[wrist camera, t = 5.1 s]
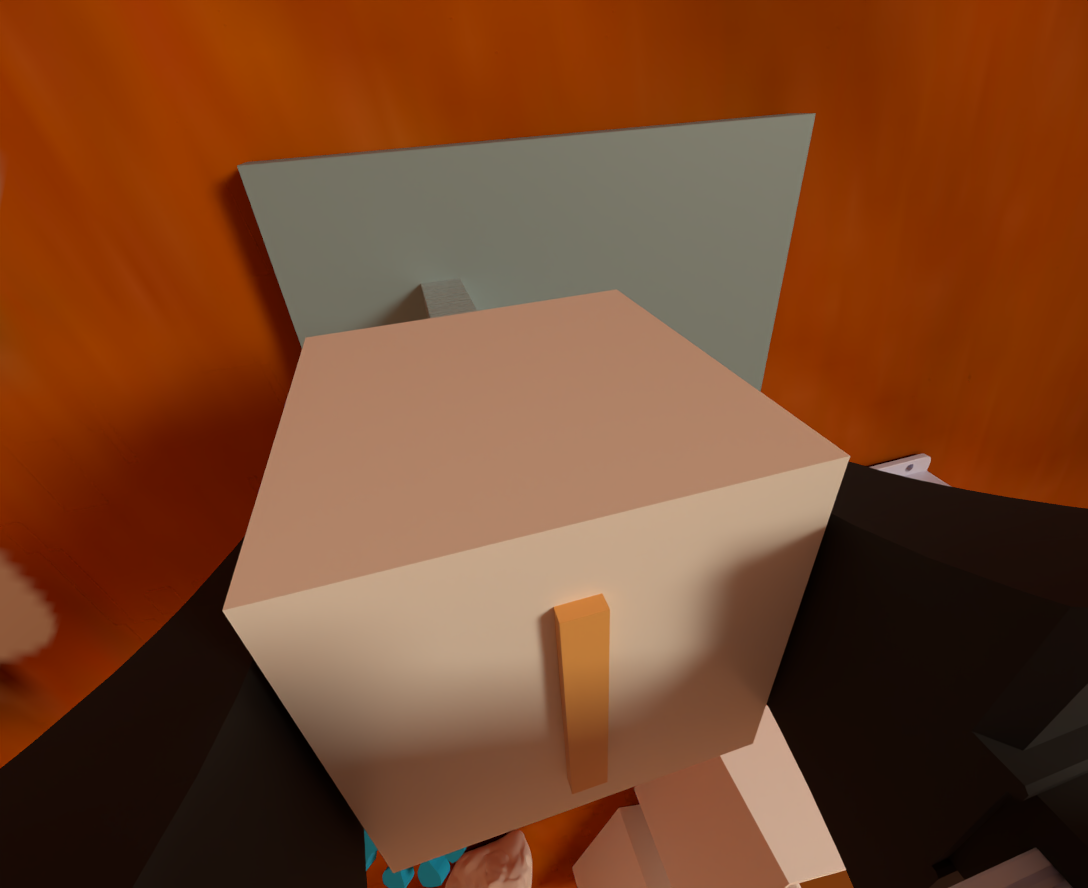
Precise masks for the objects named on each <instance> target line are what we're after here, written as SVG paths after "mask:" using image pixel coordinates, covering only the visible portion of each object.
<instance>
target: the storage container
mask: <svg viewBox="0 0 1088 888" xmlns="http://www.w3.org/2000/svg"><path fill="white" fill-rule="evenodd" d="M634 791H635V793H636V796H637V799H638V801H639V804H640V805H633V806H627V807H620V808H618V809H617V811H616V812H615V813H614V815H613V816H612V817H611V818H610V820H609V821H608V822H607V824H606V825H605V826H604V827H603V829H602V830H601V831H600V832H599V834H598V835H597V836H596V838H595V839H594V840H593V841H592V843H591V844H590V845H589V847H588V848H587V849H586V850H585V852H584V853H583V854H582V855H581V857H580V858H579V859H578V861H577V862H576V863H575V864H574V866H573V867H572V869H573V873H574V877H575V881H576V885H577V888H801V886H800V885H799V883H801V882H804V881H808V880H812V879H815V878H819V877H823V876H826V875H830V874H833V873H837V872H841V871H844V870H846V868H845V866H844V864H843V862H842V859H841V857H840V855H839V852H838V850H837V848H836V846H835V844H834V842H833V839H832V837H831V835H830V833H829V831H828V828H827V826H826V824H825V822H824V820H823V818H822V815H821V813H820V811H819V809H818V807H817V804H816V802H815V800H814V798H813V796H812V794H811V791H810V789H809V787H808V785H807V783H806V781H805V779H804V777H803V775H802V773H801V771H800V769H799V767H798V765H797V763H796V761H795V759H794V757H793V755H792V753H791V751H790V749H789V747H788V745H787V742H786V740H785V738H784V736H783V734H782V732H781V730H780V728H779V726H778V724H777V722H776V721H775V719H774V717H773V715H772V713H771V711H770V709H769V707H768V706H766V707H765V710H764V713H763V716H762V719H761V721H760V724H759V727H758V730H757V733H756V736H755V739H754V742H753V744H751V745H748V746H745V747H742V748H740V749H737V750H734V751H731V752H729V753H726V754H723V755H720V756H718V757H715V758H712V759H709V760H706V761H704V762H701V763H698V764H695V765H693V766H690V767H687V768H684V769H681V770H679V771H676V772H673V773H670V774H668V775H665V776H662V777H659V778H656V779H654V780H651V781H648V782H645V783H643V784H640V785H637V786H636V787H635V788H634Z"/></svg>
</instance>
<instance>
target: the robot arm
mask: <svg viewBox="0 0 1088 888" xmlns="http://www.w3.org/2000/svg"><path fill="white" fill-rule="evenodd" d="M930 462H931V458H930V457H929V456H927V455H925V454H919V455H915V456H911V457H907V458H903V459H899V460H895V461H891V462H887V463H883V464H879V465H875V466H871V467H866V466H863V465H859V464H856V463H852V462H848V464H847V467H846V470H845V473H844V476H843V479H842V482H841V485H840V488H839V490H838V493H837V496H836V499H835V502H834V505H833V508H832V511H831V514H830V517H829V520H828V523H827V526H826V529H825V532H824V535H823V538H822V541H821V544H820V547H819V550H818V553H817V556H816V559H815V562H814V565H813V567H812V570H811V573H810V576H809V579H808V582H807V585H806V588H805V591H804V594H803V597H802V600H801V603H800V606H799V609H798V612H797V615H796V618H795V621H794V624H793V627H792V630H791V633H790V636H789V639H788V642H787V644H786V647H785V650H784V653H783V656H782V659H781V662H780V665H779V668H778V671H777V674H776V677H775V680H774V683H773V686H772V689H771V692H770V695H769V698H768V701H767V705H768V707H769V709H770V711H771V713H772V715H773V717H774V719H775V721H776V722H777V724H778V726H779V728H780V730H781V732H782V734H783V736H784V738H785V740H786V742H787V745H788V747H789V749H790V751H791V753H792V755H793V757H794V759H795V761H796V763H797V765H798V767H799V769H800V771H801V773H802V775H803V777H804V779H805V781H806V783H807V785H808V787H809V789H810V791H811V794H812V796H813V798H814V800H815V802H816V804H817V807H818V809H819V811H820V813H821V815H822V818H823V820H824V822H825V824H826V826H827V828H828V831H829V833H830V835H831V837H832V839H833V842H834V844H835V846H836V848H837V850H838V852H839V855H840V857H841V859H842V862H843V864H844V866H845V868H846V871H847V873H848V875H849V878H850V880H851V882H852V884H853V887H854V888H1088V509H1085V508H1077V507H1070V506H1062V505H1056V504H1049V503H1043V502H1036V501H1029V500H1023V499H1016V498H1010V497H1004V496H998V495H992V494H987V493H981V492H975V491H970V490H965V489H960V488H955V487H951V486H950V485H948V484H946V483H945V482H943V481H942V480H940V479H939V478H937V477H936V476H934V475H932V474H931V473H929V472H928V471H927V469H928V467H929V464H930ZM244 538H245V536H244ZM244 538H243V539H242V540H241V541H240V543H239V544H238V545H237V546H236V547H235V549H234V550H233V551H232V552H231V553H230V554H229V555H228V556H227V558H226V559H225V560H224V561H223V562H222V563H221V564H220V565H219V567H218V568H217V569H216V570H215V571H214V572H213V573H212V575H211V576H210V577H209V578H208V579H207V580H206V581H205V582H204V584H203V585H202V586H201V587H200V588H199V589H198V590H197V591H196V593H195V594H194V595H193V596H192V597H191V598H190V599H189V600H188V601H187V602H186V603H185V604H184V605H183V607H182V608H181V609H180V610H179V611H178V612H177V613H176V614H175V615H174V616H173V617H172V618H171V619H170V620H169V621H168V622H167V623H166V624H165V625H164V626H163V627H162V628H161V629H160V630H159V631H158V632H157V633H156V634H155V635H154V636H153V637H151V638H150V639H149V640H148V641H147V642H146V643H145V644H144V645H143V646H142V647H141V648H140V649H139V650H138V651H137V652H136V653H135V654H134V655H133V656H132V657H131V658H130V659H129V660H127V661H126V662H125V663H124V664H123V665H122V666H121V667H120V668H119V669H118V670H117V671H115V672H114V673H113V674H112V675H111V676H110V677H109V678H108V679H106V680H105V681H104V682H103V683H102V684H101V685H99V686H98V687H97V688H96V689H95V690H94V691H92V692H91V693H90V694H89V695H88V696H87V697H85V698H84V699H83V700H82V701H81V702H80V703H78V704H77V705H76V706H75V707H74V708H73V709H71V710H70V711H69V712H68V713H67V714H66V715H64V716H63V717H62V718H61V719H60V720H59V721H57V722H56V723H55V724H54V725H53V726H52V727H50V728H49V729H48V730H47V731H46V732H45V733H43V734H42V735H41V736H40V737H39V738H38V739H36V740H35V741H34V742H33V743H32V744H30V745H29V746H28V747H27V748H26V749H24V750H23V751H22V752H21V753H19V754H18V755H17V756H16V757H14V758H13V759H12V760H11V761H9V762H8V763H7V764H6V765H4V766H3V767H2V768H1V769H0V888H367V878H366V859H365V838H364V828H363V826H362V824H361V823H360V821H359V820H358V818H357V817H356V815H355V814H354V812H353V811H352V809H351V808H350V806H349V804H348V803H347V801H346V800H345V798H344V797H343V795H342V794H341V792H340V791H339V789H338V788H337V786H336V785H335V783H334V781H333V780H332V778H331V777H330V775H329V774H328V772H327V771H326V769H325V768H324V766H323V765H322V763H321V761H320V760H319V758H318V757H317V755H316V754H315V752H314V751H313V749H312V748H311V746H310V745H309V743H308V742H307V740H306V738H305V737H304V735H303V734H302V732H301V731H300V729H299V728H298V726H297V725H296V723H295V722H294V720H293V719H292V717H291V715H290V714H289V712H288V711H287V709H286V708H285V706H284V705H283V703H282V702H281V700H280V699H279V697H278V695H277V694H276V692H275V691H274V689H273V688H272V686H271V685H270V683H269V682H268V680H267V679H266V677H265V676H264V674H263V672H262V671H261V669H260V668H259V666H258V665H257V663H256V662H255V660H254V659H253V657H252V656H251V654H250V652H249V651H248V649H247V648H246V646H245V645H244V643H243V642H242V640H241V639H240V637H239V636H238V634H237V633H236V631H235V629H234V628H233V626H232V625H231V623H230V622H229V620H228V619H227V617H226V616H225V614H224V613H223V611H222V610H223V607H224V603H225V600H226V597H227V594H228V590H229V587H230V584H231V581H232V577H233V574H234V571H235V567H236V564H237V561H238V558H239V554H240V551H241V548H242V544H243V541H244Z"/></svg>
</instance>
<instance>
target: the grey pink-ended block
mask: <svg viewBox="0 0 1088 888" xmlns="http://www.w3.org/2000/svg"><path fill="white" fill-rule="evenodd" d="M421 287H422V292H423V297H424V302H425V307H426V312H427V317H428V319H429V318H435V317H442V316H448V315H455V314H461V313H468V312H474V311H477V309H476V307H475V305H474V304H473V302H472V300H471V298H470V296H469V294H468V292H467V291H466V289H465V287H464V285H463V283H462V281H461V279H460V278H456V279H449V280H442V281H435V282H428V283H421Z"/></svg>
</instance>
